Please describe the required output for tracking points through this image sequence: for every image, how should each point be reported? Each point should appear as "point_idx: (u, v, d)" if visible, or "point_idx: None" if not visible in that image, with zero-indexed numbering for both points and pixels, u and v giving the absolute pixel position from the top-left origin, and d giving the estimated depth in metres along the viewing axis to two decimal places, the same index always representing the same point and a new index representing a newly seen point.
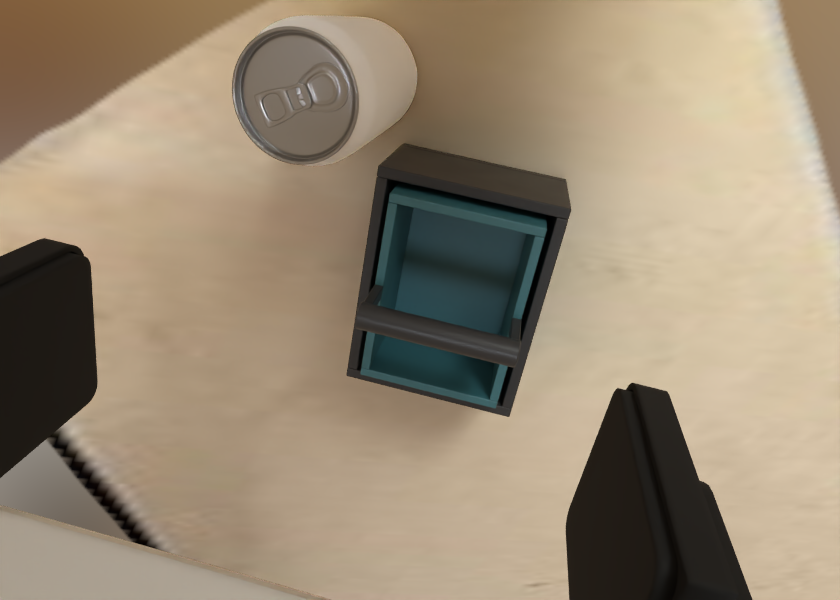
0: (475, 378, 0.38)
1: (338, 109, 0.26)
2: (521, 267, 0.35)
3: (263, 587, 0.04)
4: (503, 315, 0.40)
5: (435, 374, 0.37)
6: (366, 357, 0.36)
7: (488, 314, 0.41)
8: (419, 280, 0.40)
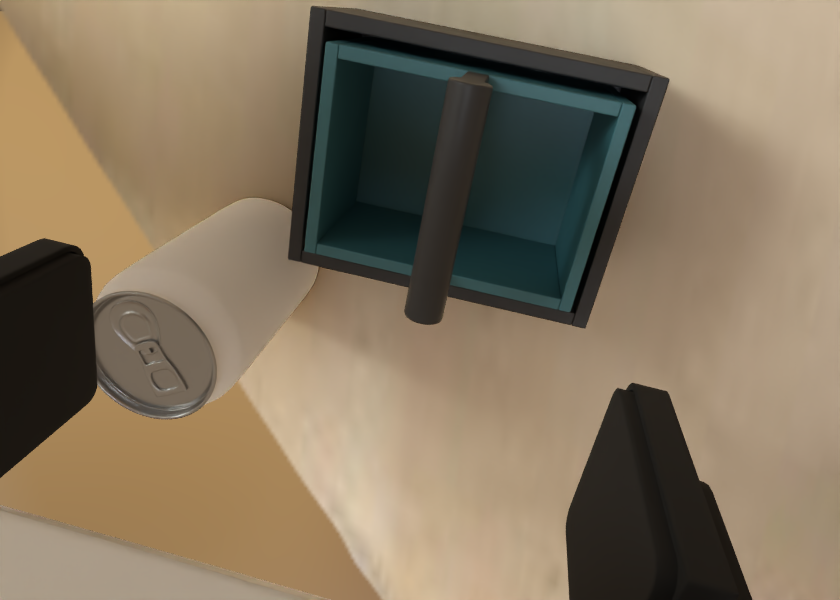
0: (603, 135, 0.24)
1: (152, 313, 0.23)
2: None
3: (262, 587, 0.04)
4: None
5: (586, 200, 0.24)
6: (540, 301, 0.25)
7: (543, 109, 0.28)
8: (492, 206, 0.30)
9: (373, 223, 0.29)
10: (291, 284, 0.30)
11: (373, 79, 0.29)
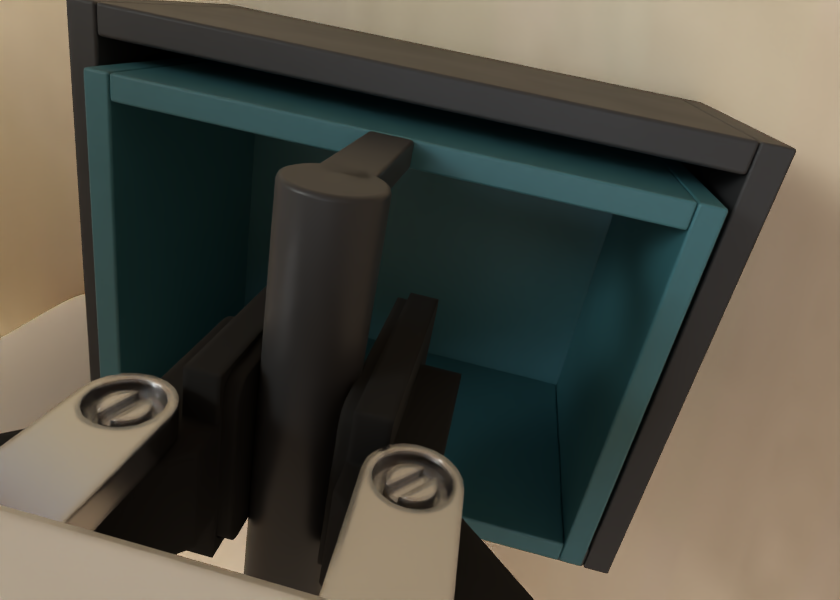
0: (648, 247, 0.12)
1: None
2: None
3: (262, 587, 0.04)
4: None
5: (614, 366, 0.13)
6: (526, 544, 0.13)
7: None
8: (456, 323, 0.19)
9: None
10: None
11: None
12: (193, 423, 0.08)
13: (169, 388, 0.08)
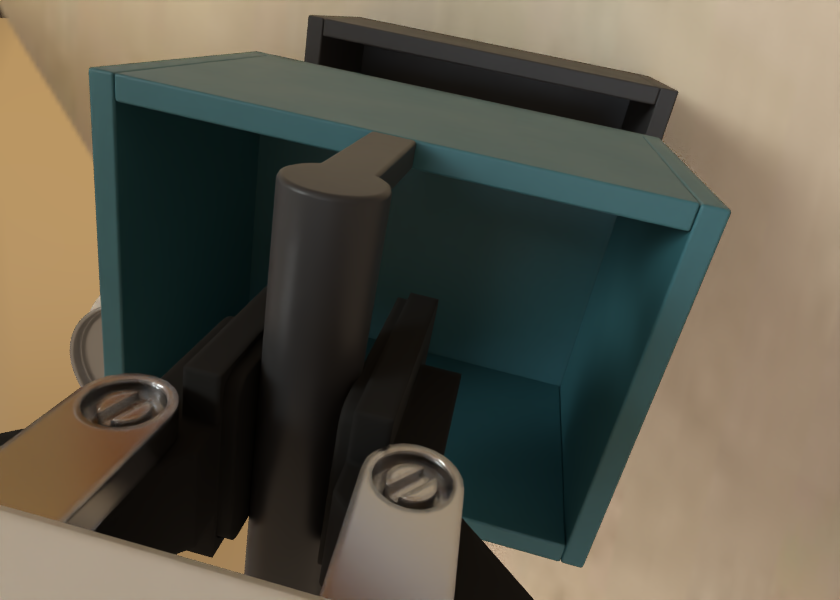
0: (651, 248, 0.12)
1: None
2: None
3: (262, 587, 0.04)
4: None
5: (616, 367, 0.13)
6: (527, 546, 0.13)
7: None
8: (459, 324, 0.19)
9: None
10: None
11: None
12: (193, 423, 0.08)
13: (169, 388, 0.08)
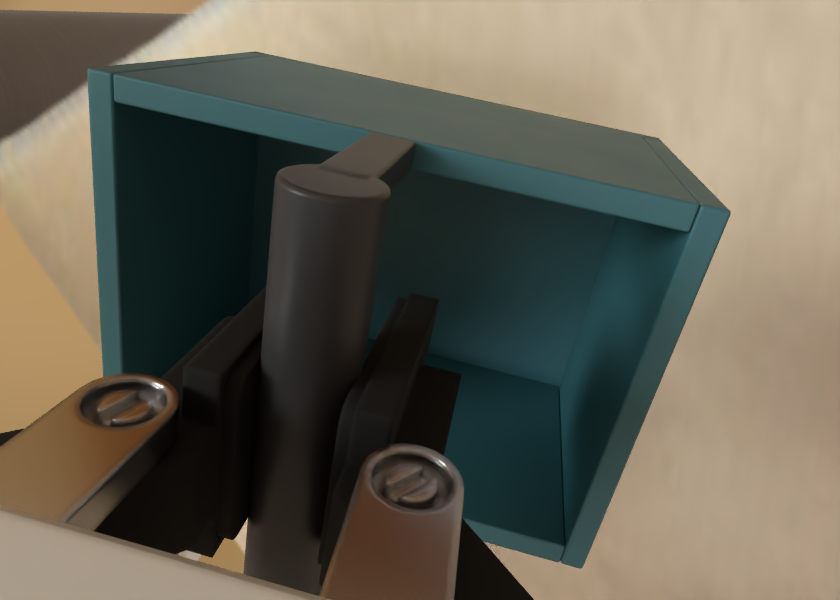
0: (650, 249, 0.12)
1: None
2: None
3: (262, 587, 0.04)
4: None
5: (616, 368, 0.13)
6: (527, 547, 0.13)
7: None
8: (459, 324, 0.19)
9: None
10: None
11: None
12: (193, 423, 0.08)
13: (169, 388, 0.08)
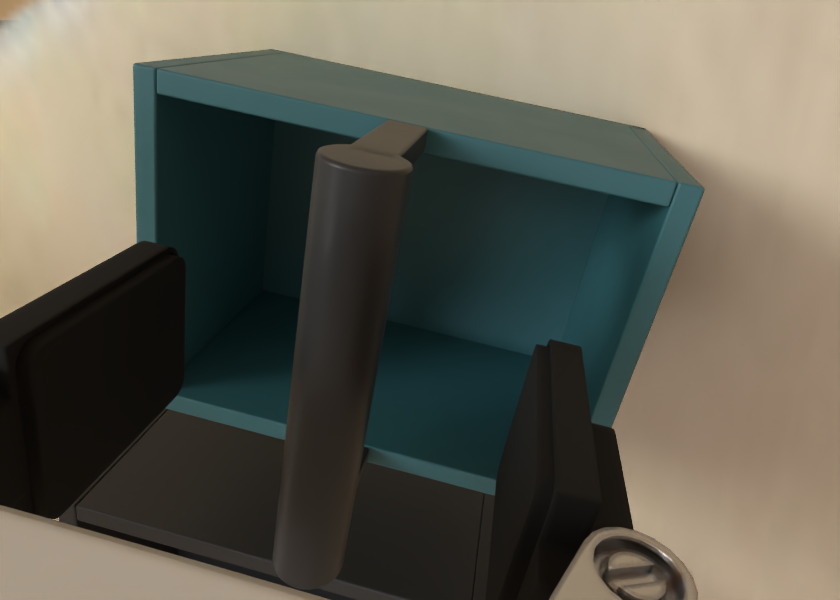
0: (636, 226, 0.14)
1: None
2: None
3: (262, 587, 0.04)
4: None
5: (606, 334, 0.14)
6: None
7: None
8: (461, 304, 0.20)
9: (274, 335, 0.19)
10: None
11: None
12: None
13: None
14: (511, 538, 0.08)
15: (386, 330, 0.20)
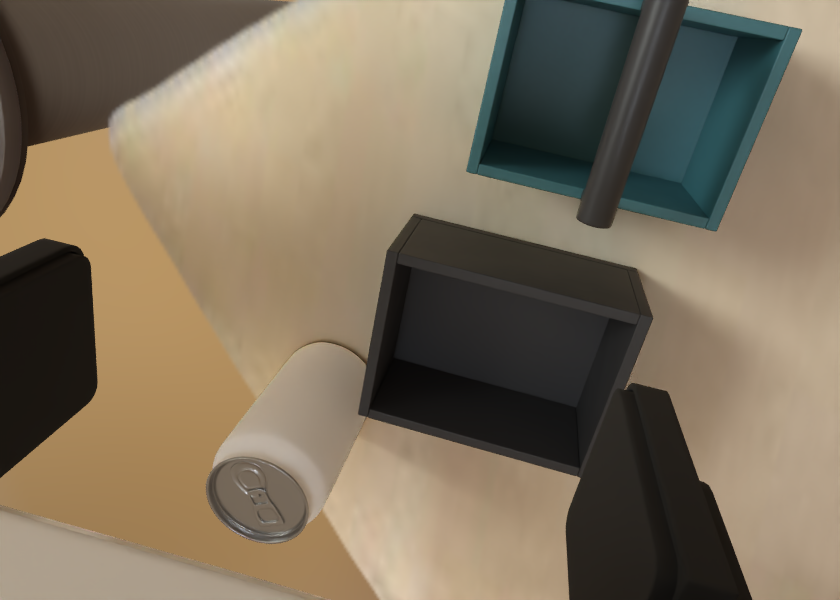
0: (757, 64, 0.26)
1: (263, 471, 0.31)
2: (592, 4, 0.27)
3: (262, 587, 0.04)
4: (686, 28, 0.30)
5: (738, 125, 0.26)
6: (689, 220, 0.27)
7: (682, 50, 0.30)
8: None
9: (517, 155, 0.31)
10: (356, 423, 0.38)
11: (521, 21, 0.31)
12: None
13: None
14: None
15: (576, 161, 0.32)
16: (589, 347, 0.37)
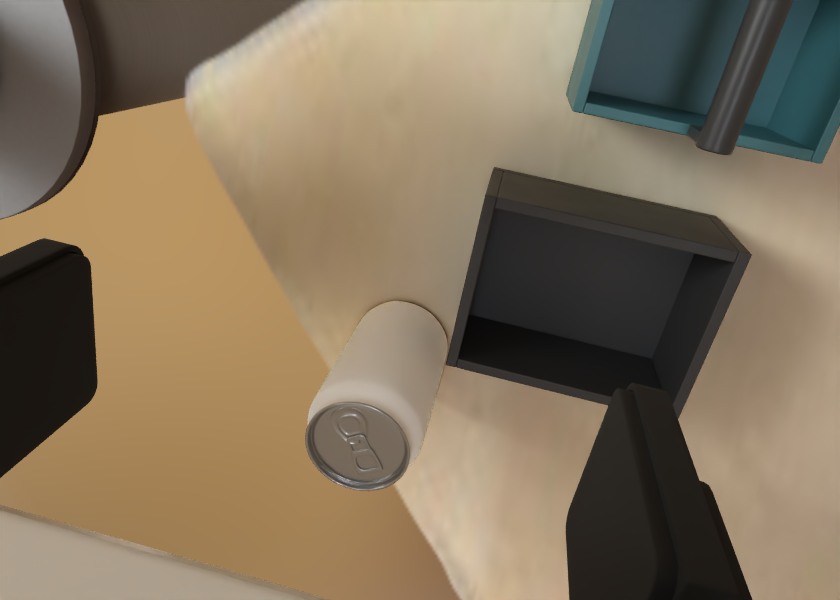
0: None
1: (365, 416, 0.31)
2: None
3: (263, 587, 0.04)
4: None
5: None
6: (795, 153, 0.27)
7: None
8: (710, 90, 0.33)
9: (610, 99, 0.31)
10: (438, 377, 0.38)
11: None
12: None
13: None
14: None
15: (663, 107, 0.33)
16: (667, 297, 0.38)
